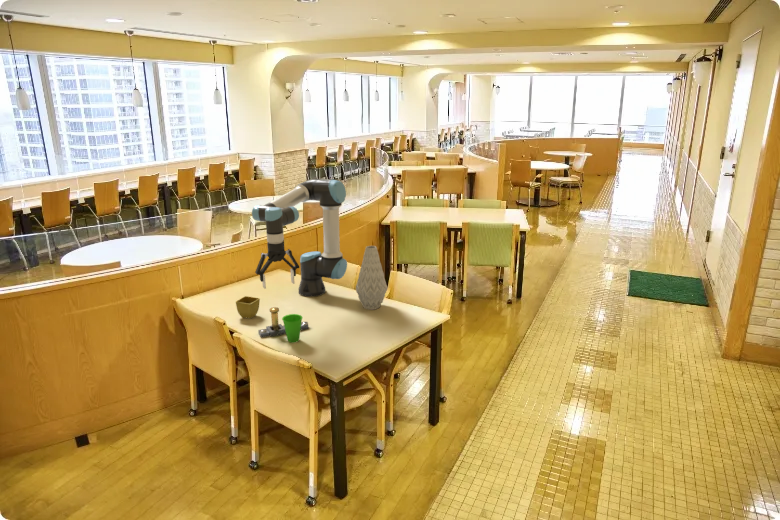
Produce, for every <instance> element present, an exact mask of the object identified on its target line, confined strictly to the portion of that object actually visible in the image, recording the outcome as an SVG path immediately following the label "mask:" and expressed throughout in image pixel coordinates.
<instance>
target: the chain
mask: <svg viewBox="0 0 780 520" xmlns="http://www.w3.org/2000/svg"><path fill="white" fill-rule="evenodd" d="M278 325H279V329H278V330H272V325H268V326H267V325H266V326H265V327H266V328H262V329H258V331H257V332H258V335H259V337H260V338H267V337H270V338H272V337H276V336H277V337H278V336H282V335H286V331H285V327H284V324H283V325H282V323H280V324H279V323H278ZM303 330H309V322H308V321H301V329H300V331H303Z"/></svg>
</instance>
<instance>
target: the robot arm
mask: <svg viewBox="0 0 780 520" xmlns="http://www.w3.org/2000/svg"><path fill="white" fill-rule="evenodd" d="M346 196H347V191H346V187H345V185H344V183H343V182H342V181H341V180H336V179H331V178H330V179H326V178H325V179H324V178H311V179H307V180H306V181H302V182H300V183H298V184H297V185H295V186H294V188H293V189H292V190H289V191H288V192H286V193H284V194H282V195H281V196H279V197H276V198H275V199H273V200H272V201H270V202H268V203H265V204H257V205H255V206H253V207H252V209H251V215H252V216H251V217H252V219H253V220H255V221H259V222H262V223H263V222H264V223H265V228H266V229H265V230H266V242H267V243H266V244H267V253H264V252H261V254H260V259H259V261H258V264H257V266H256V268H255V271H254V272H255V274H256V275H259V280H260V282H262V288H263V289H264V290H265V289H267V283H266V275H265V273H266V272H267V270H268V268H269V267H270V266H271V265H272V263H278V262H281V261H284V262H285V264H287V265H288V266H289V267H290V269H289V270H290V282H291V283H292V285H294V284H295V283H296V282H295V277H296V275H297V269H300V279H301V280H300V283H299V285H298V294H299V295H300V296H303V297H309V298H310V297H318V296H321V295H324V294H326V286H325V283H324V280H323V278H327V279H332V280H340V279H342V278H343V277H344V276H345V274H346V271H347V269H348V261H347V259H345V258H344V257H343V252H341V248H340V247H341V245H340V243H341V241H340V208H341V207H342V206H343V203H344V202H345V200H346ZM308 201H317V202H319V207H320V208H322V228H323V252H321V251H309V252H305V253H303V254H301V255H300V258H299V262H297V260H296V259H295V257H294V255H293V251H292V250H291V249H290V248H287V250H286V249H285V241H284V240H285V237H284V227H285V226H288V225H291V224H294V223H295V222H297V221H298V220H299V217H300V212H299V210H298V209H297V208H296V206H297V205H299V204H300V203H306V202H308ZM286 254H287V255H288V257H289V258H290V259H291V262H292V263H293V264H294V265H293V264H292V263H291V262H290V261H289V260H288V259H286V257H285V256H286ZM267 257H268V259H267ZM265 259H267V261H266V262H265ZM264 263H265V264H264ZM299 263H300V264H299Z"/></svg>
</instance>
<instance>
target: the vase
mask: <svg viewBox="0 0 780 520" xmlns="http://www.w3.org/2000/svg"><path fill="white" fill-rule="evenodd" d="M362 257H363V258H362V262H361V266H360V269H359V274H358V278H357V282H356V285H355V291H356V293H357V295H358V296H357V297H358V300H359V302H360V303H361V305H362V307H363V309H365V310H369V311H370V310H378V309H379V308H380V307H381V306H382V303H383V301H384V299H385V295H386V293H387V291H388V285H387V282H386V279H385V273H384V271H383V267H382V263H381V260H380V255H379V251H378V248H377V246H376V245H368V246H367V245H366V246H365V249H364V253H363V256H362Z"/></svg>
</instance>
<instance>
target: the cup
mask: <svg viewBox="0 0 780 520" xmlns="http://www.w3.org/2000/svg"><path fill="white" fill-rule="evenodd" d="M281 320H282V321H283V325H284V327H285V331H286V333H285V335H286V339H287V342H288V343H297V342H299V340H300V337H301V336H300V335H301V330H300V329H301V322H303V321H302V320H303V316H302V315H301V314H298V313H289V314H286V315H284V316H283V317H282V318H281Z"/></svg>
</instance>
